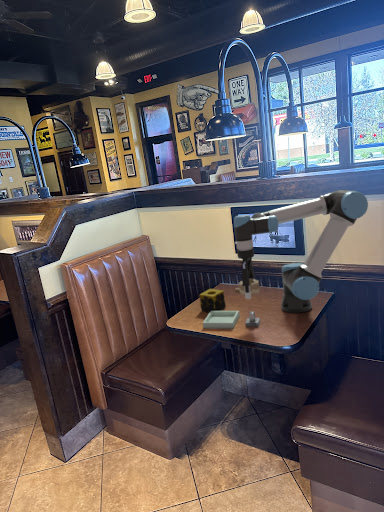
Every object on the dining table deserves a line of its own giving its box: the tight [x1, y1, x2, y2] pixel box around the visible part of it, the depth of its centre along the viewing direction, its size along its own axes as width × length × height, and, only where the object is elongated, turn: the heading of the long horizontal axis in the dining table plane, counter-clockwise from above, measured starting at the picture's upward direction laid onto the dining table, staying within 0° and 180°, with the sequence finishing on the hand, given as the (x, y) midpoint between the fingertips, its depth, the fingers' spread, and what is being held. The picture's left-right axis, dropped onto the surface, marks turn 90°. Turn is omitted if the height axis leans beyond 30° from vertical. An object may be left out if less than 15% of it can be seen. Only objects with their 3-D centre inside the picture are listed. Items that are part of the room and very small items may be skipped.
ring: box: [234, 278, 261, 297], centre depth 177 cm, size 11×9×5 cm
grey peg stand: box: [244, 311, 261, 328], centre depth 180 cm, size 6×6×6 cm
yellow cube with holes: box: [198, 288, 227, 314], centre depth 206 cm, size 10×10×10 cm
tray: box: [202, 310, 241, 330], centre depth 188 cm, size 15×15×3 cm
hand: (250, 295), depth 178 cm, fingers closed on ring, 9 cm apart
